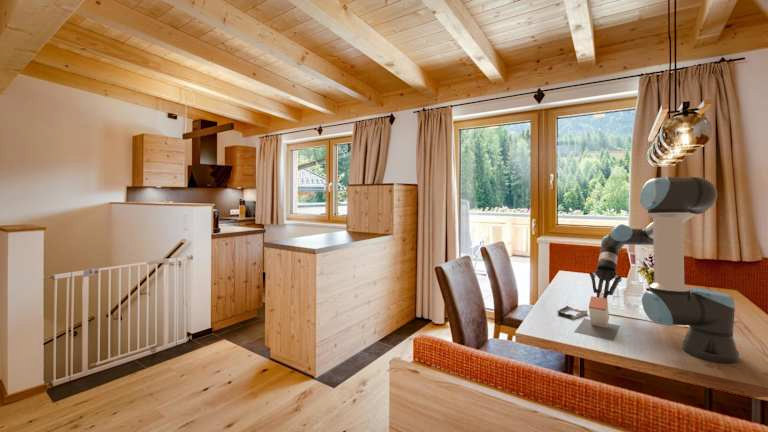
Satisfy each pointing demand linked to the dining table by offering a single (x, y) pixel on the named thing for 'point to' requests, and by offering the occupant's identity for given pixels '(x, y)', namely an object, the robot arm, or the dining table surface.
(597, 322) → the off-white block
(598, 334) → the charcoal mat
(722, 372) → the dining table surface
